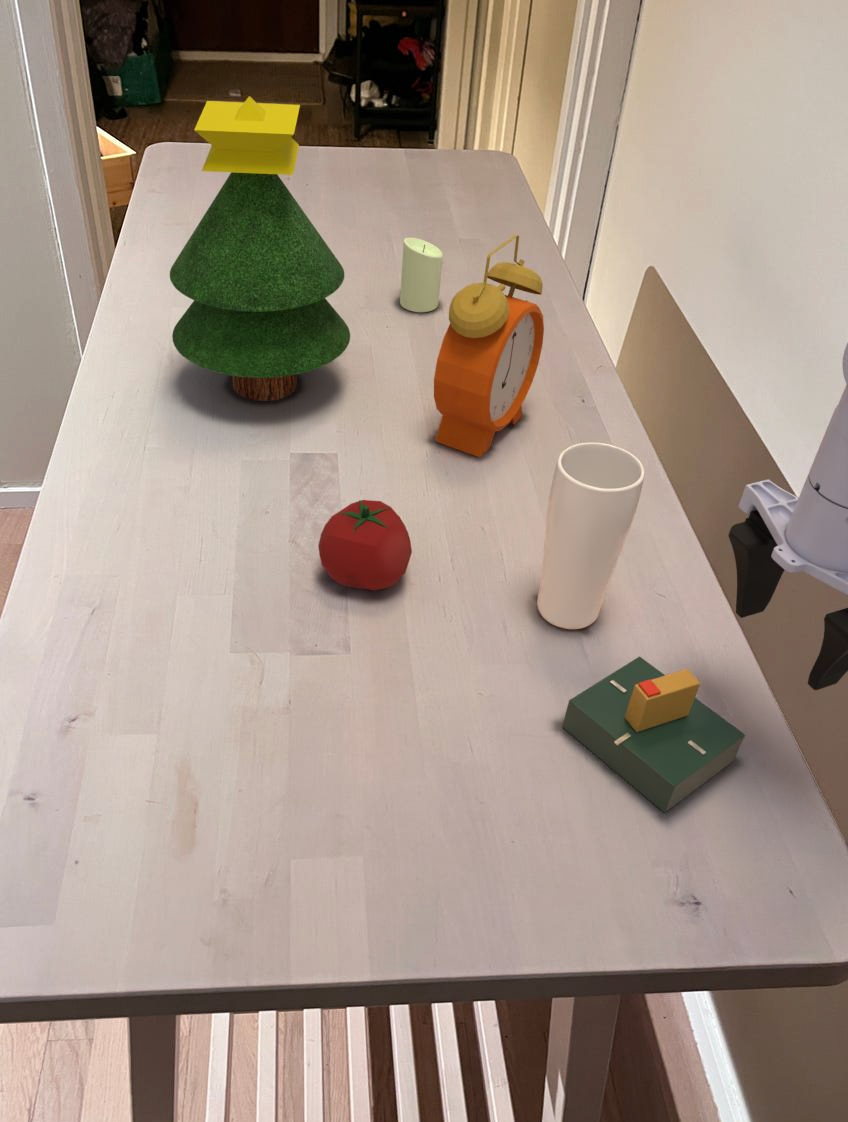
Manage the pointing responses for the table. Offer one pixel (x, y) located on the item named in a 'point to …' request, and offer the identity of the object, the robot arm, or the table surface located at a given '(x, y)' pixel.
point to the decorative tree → (256, 261)
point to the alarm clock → (488, 356)
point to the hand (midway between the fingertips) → (784, 646)
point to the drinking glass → (586, 530)
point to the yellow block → (661, 700)
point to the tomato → (365, 546)
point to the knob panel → (651, 738)
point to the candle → (420, 275)
